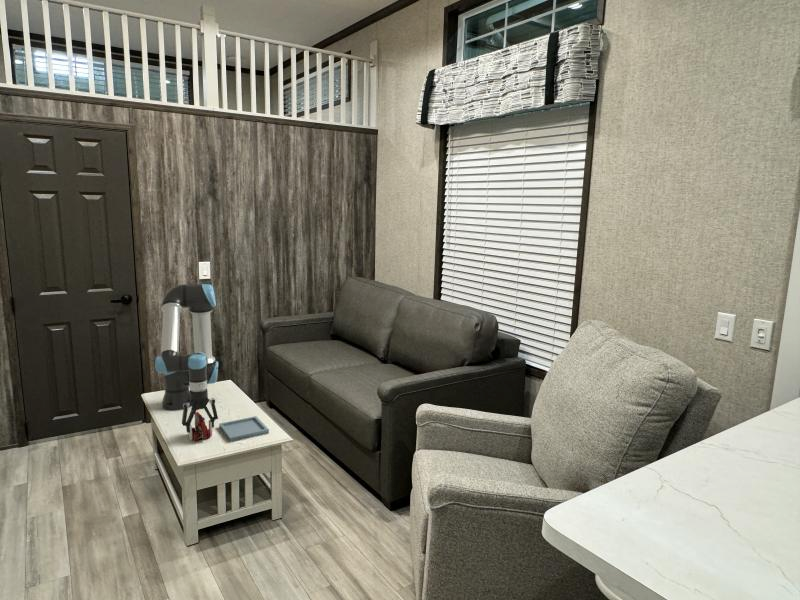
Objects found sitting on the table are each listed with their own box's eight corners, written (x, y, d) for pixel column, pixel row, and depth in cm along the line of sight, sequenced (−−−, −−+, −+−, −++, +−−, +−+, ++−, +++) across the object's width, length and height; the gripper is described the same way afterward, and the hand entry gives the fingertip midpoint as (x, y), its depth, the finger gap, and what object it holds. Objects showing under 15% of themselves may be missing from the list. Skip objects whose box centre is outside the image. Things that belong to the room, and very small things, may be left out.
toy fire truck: (196, 444, 238) (195, 422, 236) (189, 434, 248) (187, 412, 246) (212, 440, 242) (211, 418, 240) (204, 430, 252) (203, 409, 250)
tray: (219, 427, 255) (219, 423, 255) (256, 419, 265) (256, 416, 265) (230, 442, 241) (230, 437, 240) (268, 433, 251) (268, 429, 250)
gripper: (175, 396, 232) (178, 444, 236) (224, 387, 243) (226, 434, 247) (172, 390, 238) (174, 438, 242) (219, 383, 250) (221, 428, 254)
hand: (200, 436), depth 245 cm, fingers open, 8 cm apart
